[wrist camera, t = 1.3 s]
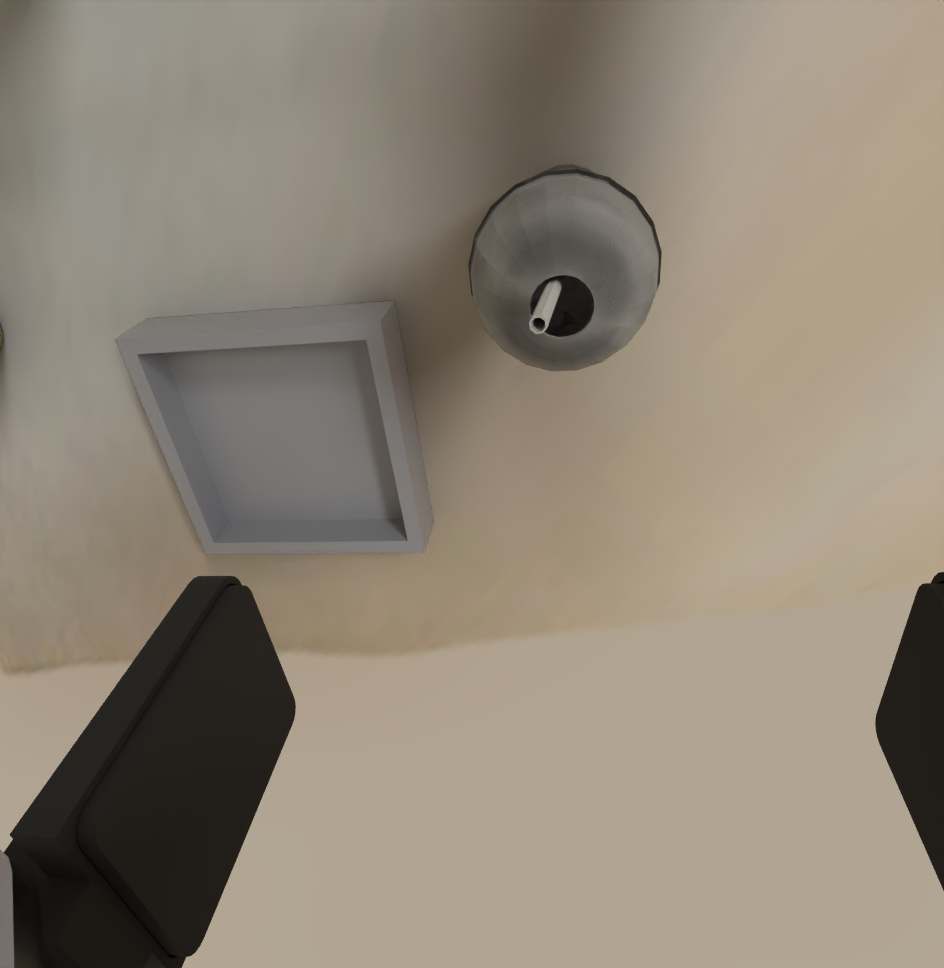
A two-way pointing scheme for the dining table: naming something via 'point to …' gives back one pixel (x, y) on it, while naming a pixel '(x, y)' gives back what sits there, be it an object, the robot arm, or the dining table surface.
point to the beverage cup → (565, 269)
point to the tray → (287, 427)
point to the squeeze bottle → (1, 336)
